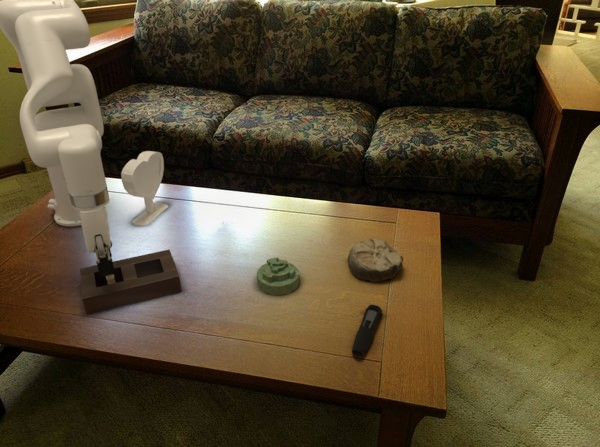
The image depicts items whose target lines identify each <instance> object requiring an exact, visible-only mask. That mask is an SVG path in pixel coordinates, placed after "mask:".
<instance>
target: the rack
mask: <svg viewBox="0 0 600 447" xmlns="http://www.w3.org/2000/svg"><path fill="white" fill-rule="evenodd" d="M112 261H113V266H114V270H115V274H113V275H114V280H115V281H116V283H114V284H109V285H108V283H107V282H108V281H107V279H106V276H103V277H100V275H99V271H98V267H97V264H96V265H90V266H86V267H85V266H84V267H80V268H79V277H80V278H79V279H80V288H81V289H80V290H81V299H82V302H83V307H84V309H85V314H86V315H90V314H95V313H99V312H103V311H107V310H111V309H112V310H113V309H116V308H120V307H123V306H128V305H131V304H137V303H140V302H145V301H148V300H152V299H156V298H160V297H165V296H169V295H173V294H177V293H181V292H182V285H181V284H182V283H181V277H180V274H179V271H178V269H177V266H176V263H175V260H174V257H173V255H172V252H171V249H164V250H160V251H155V252H151V253H146V254H141V255H136V256H133V257H128V258H122V259H118V260H112Z"/></svg>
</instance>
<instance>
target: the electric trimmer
mask: <svg viewBox="0 0 600 447" xmlns="http://www.w3.org/2000/svg"><path fill="white" fill-rule="evenodd" d="M382 316H383V310H382V308H381V306H379V305H376V304H369V305H368V306H367V307H366V308H365V310H364V314H363V317H362V319H361V323H360V325H359V328H358V330H356V334H355V337H354V340H353V344H352V348H351V353H352V354H353V355H357V356H361V357H363V356H364V355H365V353H366V352H367V350H368V349H369V347H370V345H371V343H372V341H373V339H374V336H375V334H374V333H375V328H376V326H377V324H378V321H379V318H380V317H382Z"/></svg>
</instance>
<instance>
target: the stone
mask: <svg viewBox="0 0 600 447" xmlns="http://www.w3.org/2000/svg"><path fill="white" fill-rule="evenodd" d="M403 261H404V257H403V255H402V254H400V253H399V252H398V251H397V250H396V249H394V248H393V247H392V246H391V245H389V243H387V241H385V240H384V239H379V238H375V237H373V238H367V239H364V240H361V241H359V242H356V243H355V244H354V245H353V246H352V247H351V248H350V250H349V253H348V257H347V264H348V268H349V269H350V270H351V273H352V274H353V276H354V277H356V278H358V279H360V280H362V281H370V282H372V283H376V282H380V281H381V282H382V281H385V280H387V279H393V278H394V277H395V275H396V274H397V273H398V272H399V271H400V270H401V268H402V267H403V266H404V265H403Z"/></svg>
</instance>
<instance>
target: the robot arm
mask: <svg viewBox="0 0 600 447" xmlns="http://www.w3.org/2000/svg"><path fill="white" fill-rule="evenodd" d="M0 30H1V31H2V33H3V35H4V36H5V37H6V38H7V40H8V41H9V42H10V44H11V45H12V47H13V48H14V50H15V52H16V54H17V57H18V60H19V64H20V67H21V71H22V75H23V79H24V82H25V85H26V89H27V92H26V94H25V95H24V98H23V99H22V102H21V106H20V109H19V123H20V128H21V133H22V135H23V139H24V142H25V146H26V148H27V149H26V150H27V152H28V155H29V157H30V159H31V161H32V162H33V164H34V165H35V166H37V167H39V168H44V169H46V171H47V174H48V178H49V181H50V185H51V189H52V193H53V195H54V198H50V199H48V204H47V206H46V207H47V209H48V210H54V211H55V214H54V216H53V218H54V221H55V223H56V224H57V225H60V226H62V227H80V226H81V229H82V233H83V237H84V242H85V247H86V250H87V252H88V254H89V253H94V249H95V253H94V254H95V257H96V258H95V259H96V265H97V267H98V271H99V275H100V277H103V276H108V275H112V274H115V270H114V266H113V261H114V260H113V258H112V257H113V255H112V250H111V249H108V248H110V247H111V242H112V240H111V232H110V223H109V218H108V213H107V209H106V205H108V204H109V203H110V201H111V198H110V194H109V190H108V184H107V180H106V175H105V172H104V166H103V161H102V156H101V152H102V149H103V140H102V137H103V136H104V133H105V128H104V127H105V126H104V120H103V116H102V110H101V107H100V101H99V97H98V92H97V86H96V83H95V80H94V77H93V74H92V72H91V71H90V69H89V68H88V67H87V66H86V65H84V64H80V63H73V64H71V63H70V59H69V57H68V54H67V51H68V50H76V49H84V48H87V47H88V46H89V45H90V42H91V31H90V27H89V23H88V20H87V18H86V16H85V15H84V13H83V11H82V10H81V8H80V6H79V5H78V4H77V3H76V2H75V0H0ZM75 103H76V104H77V103H78V104H80V105H76V106H75V105H74V106H71V107H61V108H56V109H55V108H54V109H49V110H44V111H42V112H39V110H40V109H41V108H45V107H47V108H48V107H56V106H63V105H69V104H70V105H71V104H75ZM38 112H39V113H38ZM101 235H102V236H101ZM103 244H106V246H105V247H104V246H103ZM96 246H97V247H98V248H96ZM111 248H112V247H111ZM105 250H106V252H107V254H105ZM98 252H99V253H98Z"/></svg>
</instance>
